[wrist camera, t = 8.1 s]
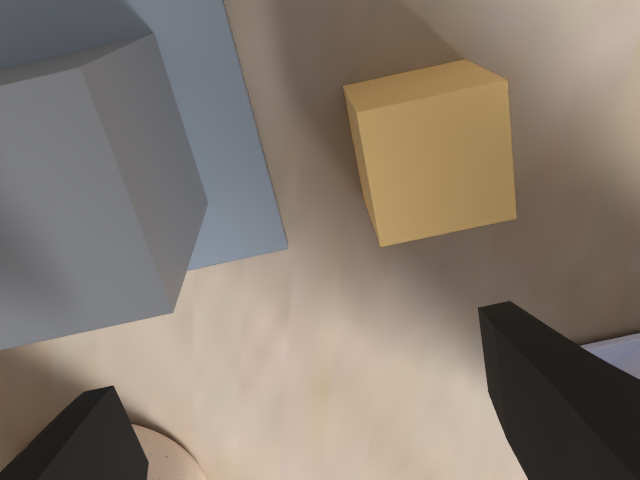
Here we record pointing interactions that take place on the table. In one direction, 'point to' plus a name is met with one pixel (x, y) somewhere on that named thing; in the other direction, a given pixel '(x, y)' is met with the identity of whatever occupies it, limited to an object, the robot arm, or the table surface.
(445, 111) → the ochre cube
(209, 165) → the slate mat
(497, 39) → the table surface
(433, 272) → the table surface
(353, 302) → the table surface
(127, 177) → the blue-gray cube on pad
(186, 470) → the teacup with lid
